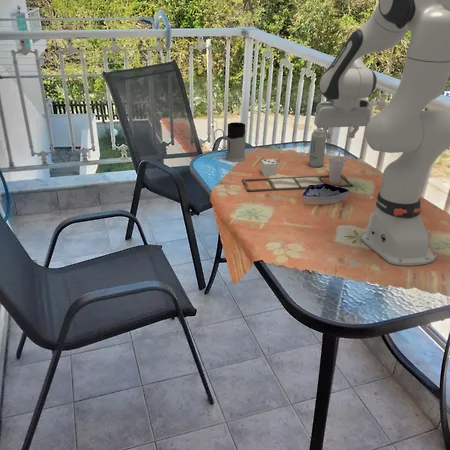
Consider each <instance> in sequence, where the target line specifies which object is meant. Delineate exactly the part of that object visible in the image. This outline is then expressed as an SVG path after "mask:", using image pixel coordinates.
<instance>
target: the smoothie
mask: <svg viewBox="0 0 450 450" xmlns="http://www.w3.org/2000/svg"><path fill="white" fill-rule="evenodd" d="M341 148H342V147H341V146H339V149H338V154H337V155H335V154H334V155H331V156H329V157H328V158H327V159H328V166H329V167H328V171H329V174H328V175H329V177H328V178H329V183H330V184H334V185H337V184H339V183H340V181H341V178H342V177H341V175H342V174H343V173H342V172H343V169H344V165H345V163H346V157H344V156H341V151H342V150H341Z"/></svg>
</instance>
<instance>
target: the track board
mask: <svg viewBox="0 0 450 450" xmlns="http://www.w3.org/2000/svg"><path fill="white" fill-rule="evenodd" d="M324 178H326V179H327V178H329V174H327V175H326V174H325V175H324V174H322V175H309V176H308V175H307V176H306V175H304V176H287V177H285V176H284V177H267V178H246V179H244V178H243V179H242V180H241V181H242V184H243V186H244V188H245V190H246V192H247V193H256V192H259V193H260V192H272V191H273V192H274V191H291V190H292V191H293V190H294V191H296V190H297V191H298V190H307V189H306V188H307V186H309V185H317V184H322V183H325V182H324V180H323V179H324ZM340 178H342V180H344V182H346V184H334V185H333V186H338V187H337V188H347V187H348V188H352V187H354V184H352V182H351V181H350V180H349V179H348V178H347V177H346V176H345V175H344V174H341V177H340ZM262 181H264V182H265V181H267V182H268V183H269V185H270V187H271V188H259V189H258V188H257V189H254V188H253V189H251V188H250V187H249V186H248V184H247V182H262Z"/></svg>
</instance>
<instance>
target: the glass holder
mask: <svg viewBox="0 0 450 450" xmlns="http://www.w3.org/2000/svg"><path fill="white" fill-rule="evenodd" d="M217 131H221V132H222V137H223V139H226V150H224V148H221V146H219V144H218V143H217V141H216V132H217ZM224 131H225V130H223V129H222V128H217V129H215V130H214V132H213V139H214V143H215V144H216V147H218V148H219V149H220V150H221V151H223V152H224V153H225V154H226V155H225V160H226V161H228V162H230V163H231V162H232V163H241V162H245V161H246V160H247V159H246V155H245V154H246V132H247V131H246V124H245V123H244V122H236V121H234V122H230V123H227V136H226V137H225V132H224Z"/></svg>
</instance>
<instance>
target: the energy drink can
mask: <svg viewBox="0 0 450 450" xmlns="http://www.w3.org/2000/svg"><path fill="white" fill-rule="evenodd" d="M326 143H327V139H326V138H325V132H324V130H323V128H322V129H321V128H316V129H315V128H314V130H313V132H312V133H311V138H310V149H309V158H308V164H309V166H311V167H312V168H321V167H322V166H323V165H324V161H325V152H326V151H325V150H326Z"/></svg>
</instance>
